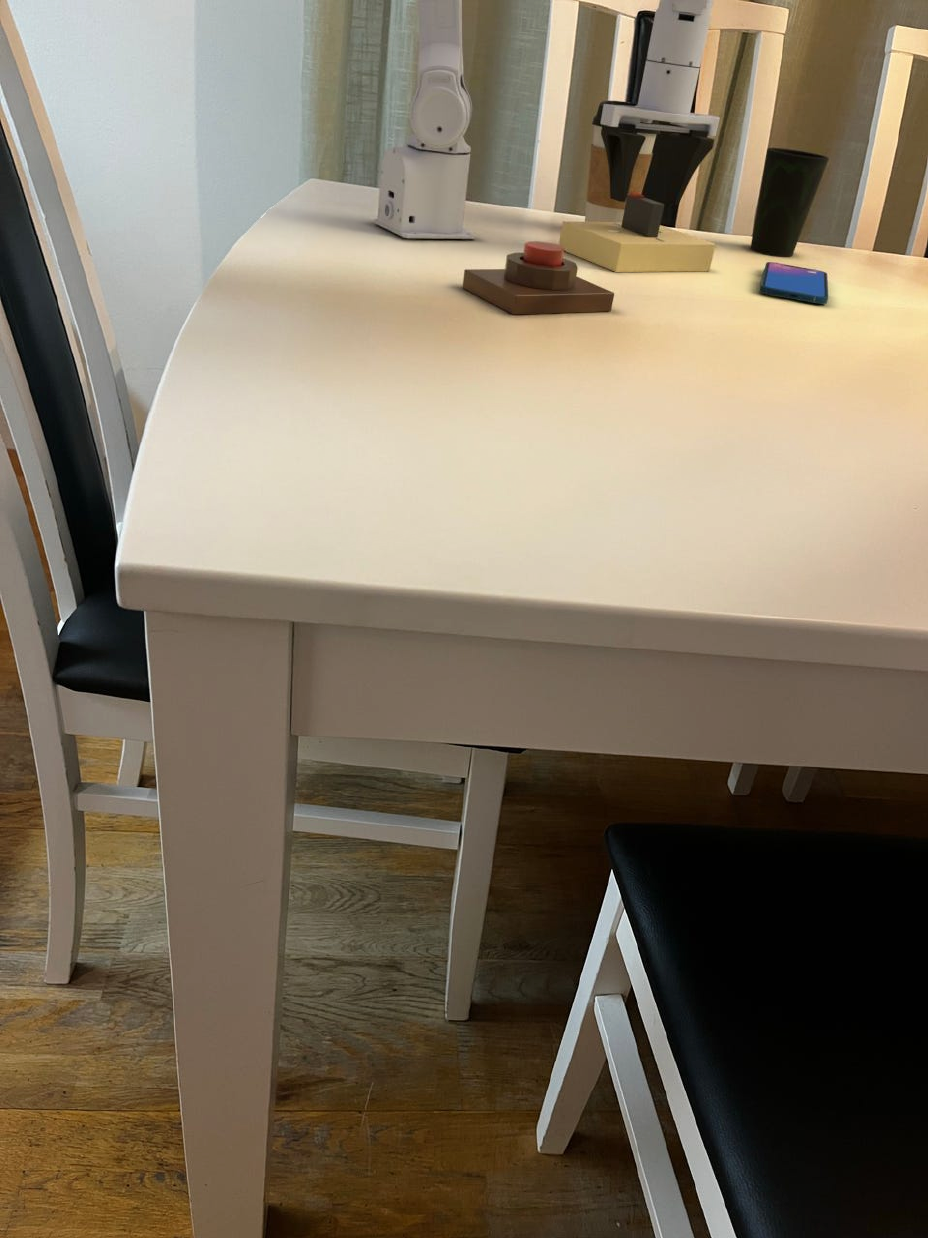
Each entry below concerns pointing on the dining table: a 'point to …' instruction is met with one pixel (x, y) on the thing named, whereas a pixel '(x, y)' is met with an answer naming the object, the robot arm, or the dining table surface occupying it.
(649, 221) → the dark grey rectangular block
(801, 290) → the smartphone
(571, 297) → the button block
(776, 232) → the cup
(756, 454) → the dining table surface
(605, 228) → the panel
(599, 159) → the coffee cup
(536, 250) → the button
